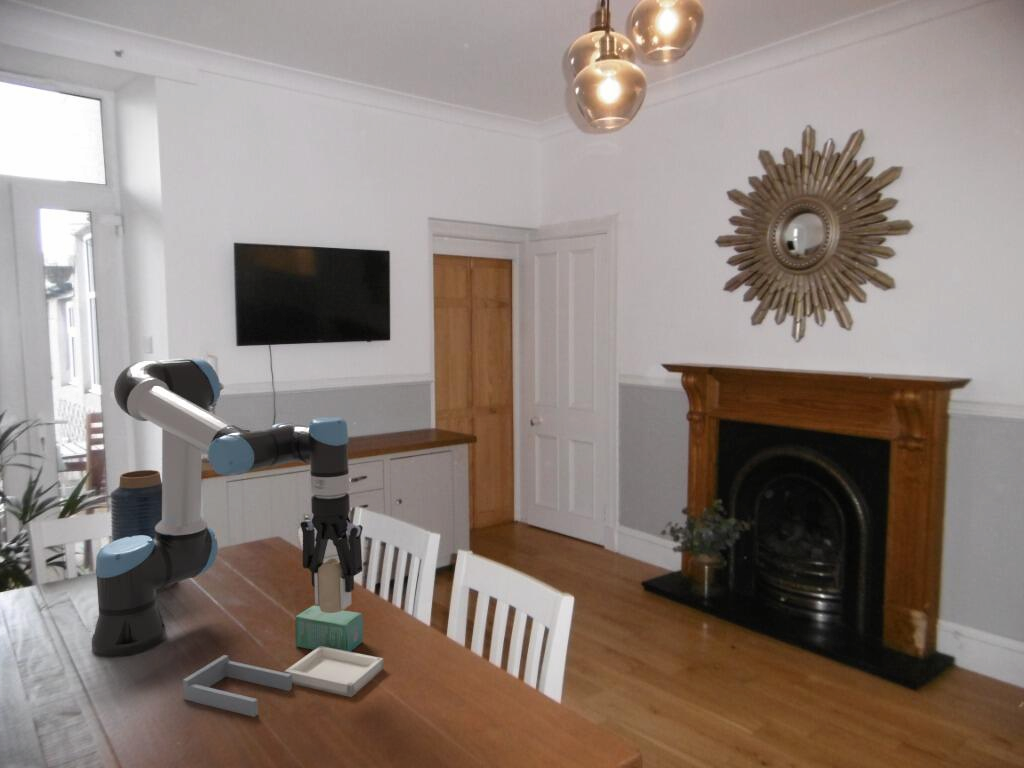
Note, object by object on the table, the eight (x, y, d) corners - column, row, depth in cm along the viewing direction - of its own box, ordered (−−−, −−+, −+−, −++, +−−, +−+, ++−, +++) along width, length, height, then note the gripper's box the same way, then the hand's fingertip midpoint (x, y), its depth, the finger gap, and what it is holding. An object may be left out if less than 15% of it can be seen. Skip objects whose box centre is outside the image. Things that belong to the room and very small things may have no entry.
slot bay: (183, 699, 141) (182, 679, 141) (224, 673, 152) (223, 654, 151) (254, 717, 135) (253, 696, 135) (292, 688, 145) (291, 669, 145)
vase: (160, 597, 192) (154, 480, 188) (99, 597, 192) (92, 480, 189) (188, 575, 208) (183, 467, 205) (132, 574, 208) (126, 467, 205)
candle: (322, 603, 152) (320, 556, 151) (348, 602, 152) (347, 556, 151) (317, 613, 146) (315, 566, 145) (344, 612, 147) (343, 565, 146)
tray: (284, 682, 148) (284, 671, 148) (320, 656, 159) (320, 645, 159) (351, 697, 142) (351, 685, 142) (383, 669, 153) (383, 658, 153)
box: (347, 656, 159) (346, 624, 158) (295, 648, 163) (294, 616, 162) (364, 642, 166) (363, 611, 165) (313, 634, 170) (312, 604, 169)
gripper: (280, 494, 147) (284, 604, 149) (359, 502, 140) (361, 618, 142) (304, 486, 153) (307, 591, 156) (379, 493, 147) (381, 603, 149)
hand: (333, 603), depth 149 cm, fingers closed on candle, 5 cm apart
